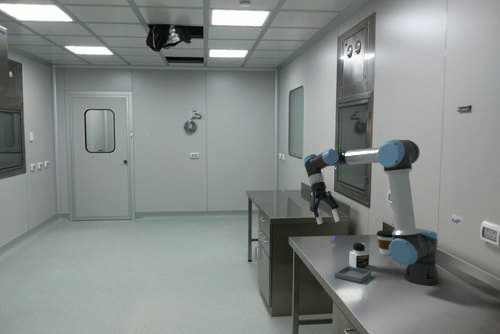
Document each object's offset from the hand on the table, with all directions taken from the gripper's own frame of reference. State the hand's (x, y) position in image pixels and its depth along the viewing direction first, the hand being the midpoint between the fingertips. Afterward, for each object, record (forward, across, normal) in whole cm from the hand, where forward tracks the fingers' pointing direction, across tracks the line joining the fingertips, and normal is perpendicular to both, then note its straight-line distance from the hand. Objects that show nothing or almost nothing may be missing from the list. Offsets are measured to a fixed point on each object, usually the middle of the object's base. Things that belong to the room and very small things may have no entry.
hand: (329, 222), depth 208 cm
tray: (+28, +5, +8) cm, 30 cm away
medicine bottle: (+25, -10, +2) cm, 27 cm away
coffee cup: (+21, -41, -1) cm, 46 cm away
